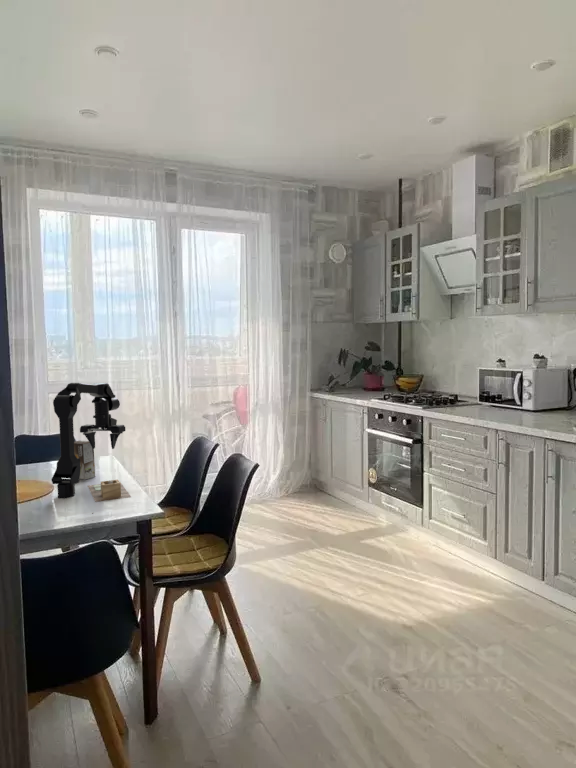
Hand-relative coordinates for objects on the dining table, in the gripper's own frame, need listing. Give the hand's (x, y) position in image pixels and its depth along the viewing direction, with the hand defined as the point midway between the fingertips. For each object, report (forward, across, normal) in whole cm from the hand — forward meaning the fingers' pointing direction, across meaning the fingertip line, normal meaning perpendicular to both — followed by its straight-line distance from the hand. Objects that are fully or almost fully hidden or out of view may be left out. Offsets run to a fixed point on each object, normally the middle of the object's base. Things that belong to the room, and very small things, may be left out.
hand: (103, 448), depth 244 cm
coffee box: (+15, +15, -6) cm, 22 cm away
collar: (+13, -17, +24) cm, 32 cm away
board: (+15, -13, +18) cm, 27 cm away
